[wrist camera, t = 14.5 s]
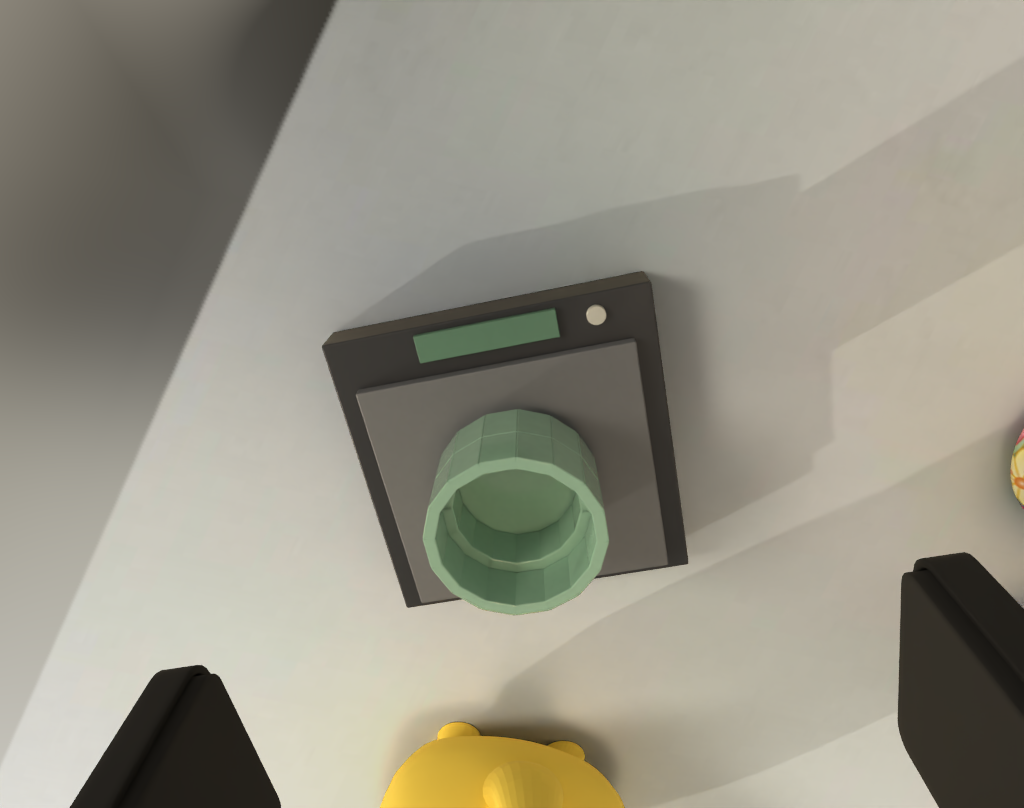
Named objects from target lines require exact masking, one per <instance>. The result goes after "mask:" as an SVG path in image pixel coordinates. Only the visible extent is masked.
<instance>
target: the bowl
mask: <svg viewBox="0 0 1024 808" xmlns="http://www.w3.org/2000/svg"><path fill="white" fill-rule="evenodd" d="M423 543H424V546H425V550H426V553H427V556H428V560H429V563H430V567H431V568H432V570H433V571H434V573H435V574H436V575H437V576H438V577H439V579H440V580H441V581H442V582H443V583H444V584H445V586H446V587H447V588H448V589H449V590H450V592H452V593H453V594H454V595H456V596H458V597H460V598H461V599H463V600H465V601H467V602H469V603H470V604H472V605H474V606H476V607H478V608H480V609H482V610H487V611H493V612H498V613H504V614H510V615H521V614H528V613H535V612H542V611H548V610H552V609H554V608H555V607H557V606H559V605H561V604H563V603H565V602H567V601H569V600H571V599H573V598H575V597H577V596H578V595H580V594H581V593H582V592H583V590H584V589H585V588H586V587H587V586H588V585H589V584H590V582H591V581H592V580H593V579H594V578H595V577H596V576H597V575H598V573H599V572H600V570H601V568H602V565H603V562H604V558H605V555H606V552H607V548H608V545H609V534H608V528H607V522H606V516H605V510H604V505H603V499H602V494H601V489H600V484H599V478H598V473H597V467H596V462H595V458H594V456H593V454H592V453H591V451H590V450H589V448H588V447H587V446H586V444H585V443H584V441H583V440H582V438H581V437H580V435H579V434H578V433H577V432H576V431H574V430H573V429H571V428H570V427H568V426H567V425H565V424H563V423H562V422H560V421H559V420H557V419H555V418H554V417H552V416H550V415H547V414H542V413H536V412H531V411H526V410H521V409H515V410H509V411H503V412H497V413H492V414H486V416H485V415H484V416H482V417H481V418H479V419H477V420H476V421H474V422H472V423H471V424H469V425H467V426H466V427H464V428H463V429H461V430H459V431H458V432H457V433H456V435H455V436H454V437H453V439H452V440H451V442H450V443H449V444H448V446H447V447H446V449H445V450H444V451H443V453H442V454H441V457H440V461H439V465H438V469H437V473H436V477H435V481H434V485H433V489H432V493H431V497H430V501H429V505H428V509H427V515H426V520H425V526H424V531H423Z"/></svg>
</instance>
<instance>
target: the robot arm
mask: <svg viewBox="0 0 1024 808" xmlns="http://www.w3.org/2000/svg"><path fill="white" fill-rule="evenodd" d="M898 727H899V732H900V735H901V739H902V741H903V744H904V746H905V749H906V751H907V753H908V754H909V756H910V758H911V760H912V761H913V763H914V765H915V767H916V768H917V770H918V772H919V774H920V775H921V777H922V779H923V781H924V782H925V784H926V786H927V788H928V789H929V791H930V793H931V795H932V796H933V798H934V800H935V801H936V803H937V805H938V807H939V808H1024V609H1023V608H1022V607H1021V606H1020V605H1019V604H1018V603H1017V601H1016V600H1015V599H1014V598H1013V597H1012V596H1011V595H1010V594H1009V593H1008V592H1007V591H1006V590H1005V589H1004V588H1003V587H1002V586H1001V585H1000V584H999V583H998V582H997V581H996V580H995V578H994V577H993V576H992V575H991V574H990V573H989V572H988V571H987V570H986V569H985V568H984V567H983V566H982V565H981V564H980V563H979V562H978V561H977V560H976V559H975V558H974V557H973V556H972V555H970V554H968V553H965V552H963V553H956V554H949V555H943V556H936V557H929V558H922V559H919V560H917V561H916V563H915V564H914V570H913V572H908V573H904V575H903V576H902V582H901V619H900V657H899V695H898ZM70 808H281V804H280V800H279V798H278V795H277V793H276V791H275V789H274V787H273V785H272V783H271V781H270V779H269V777H268V775H267V773H266V771H265V769H264V767H263V765H262V763H261V761H260V758H259V756H258V754H257V752H256V750H255V748H254V746H253V744H252V742H251V740H250V738H249V736H248V734H247V732H246V730H245V728H244V726H243V724H242V722H241V719H240V717H239V715H238V713H237V711H236V709H235V707H234V705H233V703H232V701H231V699H230V697H229V695H228V693H227V691H226V689H225V687H224V685H223V682H222V680H221V679H220V677H219V676H218V675H216V674H210V672H209V671H208V669H207V668H205V667H204V666H202V665H195V666H188V667H181V668H175V669H168V670H161V671H160V672H158V673H156V674H155V675H154V676H153V678H152V679H151V680H150V682H149V683H148V685H147V686H146V688H145V690H144V691H143V693H142V694H141V696H140V697H139V699H138V701H137V702H136V704H135V705H134V707H133V709H132V710H131V712H130V713H129V715H128V716H127V718H126V720H125V721H124V723H123V724H122V726H121V727H120V729H119V731H118V732H117V734H116V735H115V737H114V739H113V740H112V742H111V743H110V745H109V746H108V748H107V750H106V751H105V753H104V754H103V756H102V757H101V759H100V761H99V762H98V764H97V765H96V767H95V769H94V770H93V772H92V773H91V775H90V776H89V778H88V780H87V781H86V783H85V784H84V786H83V787H82V789H81V791H80V792H79V794H78V795H77V797H76V799H75V800H74V802H73V803H72V805H71V806H70Z"/></svg>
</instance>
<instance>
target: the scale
mask: <svg viewBox="0 0 1024 808" xmlns="http://www.w3.org/2000/svg"><path fill="white" fill-rule="evenodd" d="M322 349H323V352H324V355H325V358H326V361H327V364H328V367H329V371H330V374H331V377H332V380H333V383H334V386H335V389H336V392H337V395H338V398H339V401H340V404H341V407H342V410H343V413H344V416H345V419H346V422H347V426H348V429H349V432H350V435H351V438H352V441H353V444H354V447H355V450H356V453H357V456H358V459H359V462H360V465H361V468H362V471H363V474H364V477H365V481H366V484H367V487H368V490H369V493H370V496H371V499H372V502H373V505H374V508H375V511H376V514H377V517H378V520H379V523H380V526H381V529H382V532H383V536H384V539H385V542H386V545H387V548H388V551H389V554H390V557H391V560H392V563H393V566H394V569H395V572H396V575H397V578H398V581H399V584H400V587H401V591H402V594H403V597H404V600H405V603H406V606H407V607H408V608H409V607H416V606H422V605H429V604H435V603H441V602H448V601H454V600H461V598H460V597H458V596H456V595H454V594H453V593H452V592H450V590H449V589H448V588H447V587H446V586H445V584H444V583H443V582H442V581H441V580H440V579H439V577H438V576H437V575H436V574H435V573H434V571H433V570H432V568H431V567H430V563H429V560H428V556H427V553H426V550H425V546H424V543H423V531H424V526H425V520H426V515H427V509H428V505H429V501H430V497H431V493H432V489H433V485H434V481H435V477H436V473H437V469H438V465H439V461H440V457H441V454H442V453H443V451H444V450H445V449H446V447H447V446H448V444H449V443H450V442H451V440H452V439H453V437H454V436H455V435H456V433H457V432H458V431H459V430H461V429H463V428H464V427H466V426H467V425H469V424H471V423H472V422H474V421H476V420H477V419H479V418H481V417H482V416H484V415H485V416H486V414H492V413H497V412H503V411H509V410H515V409H521V410H526V411H531V412H536V413H542V414H547V415H550V416H552V417H554V418H555V419H557V420H559V421H560V422H562V423H563V424H565V425H567V426H568V427H570V428H571V429H573V430H574V431H576V432H577V433H578V434H579V435H580V437H581V438H582V440H583V441H584V443H585V444H586V446H587V447H588V448H589V450H590V451H591V453H592V454H593V456H594V458H595V462H596V467H597V473H598V478H599V484H600V489H601V494H602V499H603V505H604V510H605V516H606V522H607V528H608V534H609V545H608V548H607V552H606V555H605V558H604V562H603V565H602V568H601V570H600V572H599V573H598V575H597V576H596V577H595V578H602V577H608V576H614V575H621V574H627V573H634V572H640V571H646V570H653V569H659V568H666V567H672V566H679V565H685V564H688V555H687V548H686V540H685V533H684V525H683V518H682V510H681V503H680V495H679V488H678V480H677V472H676V465H675V457H674V450H673V442H672V435H671V427H670V420H669V412H668V405H667V397H666V390H665V382H664V375H663V367H662V360H661V352H660V345H659V337H658V330H657V322H656V315H655V307H654V300H653V292H652V284H651V282H650V280H649V279H648V277H647V276H646V274H645V273H644V272H643V271H641V272H636V273H631V274H626V275H621V276H616V277H611V278H606V279H601V280H596V281H590V282H585V283H580V284H575V285H570V286H565V287H560V288H555V289H550V290H545V291H540V292H535V293H530V294H525V295H520V296H515V297H510V298H505V299H500V300H495V301H490V302H484V303H479V304H474V305H469V306H464V307H459V308H454V309H449V310H444V311H439V312H434V313H429V314H424V315H419V316H414V317H409V318H404V319H399V320H394V321H389V322H384V323H378V324H373V325H368V326H363V327H358V328H353V329H348V330H343V331H338V332H334V333H333V334H332V335H331V336H330V337H329V338H328V340H327V341H326V342H325V343H324V344H323V345H322ZM595 578H594V579H595Z"/></svg>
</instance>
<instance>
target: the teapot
mask: <svg viewBox="0 0 1024 808" xmlns="http://www.w3.org/2000/svg"><path fill="white" fill-rule="evenodd" d="M584 759H585V754H584V751H583V750H582V748H581V747H580V746H579V745H577V744H575V743H573V742H569V741H557V742H554V743H551V744H549V745H548V746H545V745H542V744H538V743H535V742H530V741H526V740H521V739H514V738H507V737H494V736H481V735H480V733H479V731H478V730H477V729H476V728H475V727H473V726H472V725H470V724H467V723H463V722H454V723H450V724H447V725H445V726H444V727H442V728H441V729H440V731H439V733H438V740H434V741H432V742H429V743H427V744H425V745H424V746H422V747H421V748H419V749H418V750H417V751H416V752H414V753H413V754H412V755H411V756H410V757H409V758H408V759H407V760H406V761H405V763H404V764H403V765H402V766H401V767H400V768H399V769H398V771H397V772H396V773H395V775H394V777H393V779H392V781H391V783H390V785H389V787H388V789H387V791H386V793H385V796H384V798H383V801H382V804H381V806H380V808H625V807H624V805H623V802H622V800H621V798H620V796H619V794H618V793H617V792H616V790H615V789H614V788H613V786H612V785H611V784H610V783H609V782H608V780H607V779H606V778H605V777H604V776H603V775H602V774H601V773H600V772H599V771H598V770H597V769H596V768H594V767H593V766H592V765H590V764H589V763H587V762H585V761H584Z"/></svg>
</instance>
